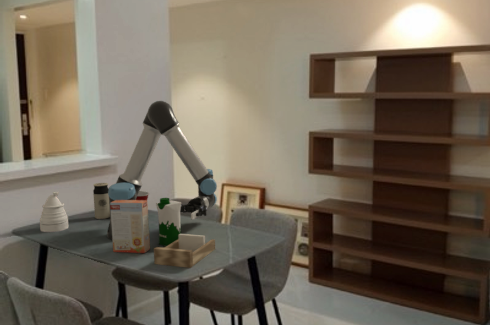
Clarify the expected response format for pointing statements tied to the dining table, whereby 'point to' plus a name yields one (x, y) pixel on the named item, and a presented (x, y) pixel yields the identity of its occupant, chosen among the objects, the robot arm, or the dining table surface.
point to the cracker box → (130, 226)
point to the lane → (181, 254)
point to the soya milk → (168, 221)
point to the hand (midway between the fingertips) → (177, 215)
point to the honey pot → (53, 215)
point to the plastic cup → (142, 195)
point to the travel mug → (101, 201)
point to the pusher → (191, 241)
